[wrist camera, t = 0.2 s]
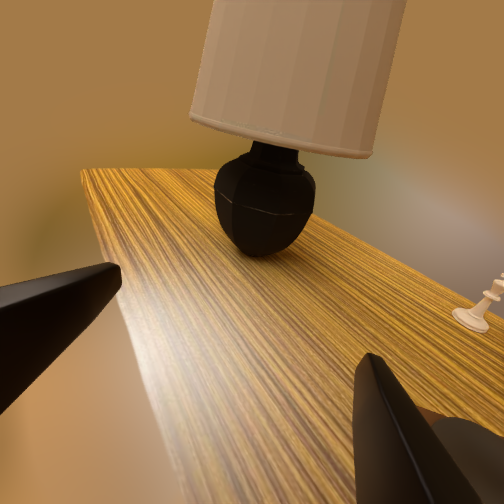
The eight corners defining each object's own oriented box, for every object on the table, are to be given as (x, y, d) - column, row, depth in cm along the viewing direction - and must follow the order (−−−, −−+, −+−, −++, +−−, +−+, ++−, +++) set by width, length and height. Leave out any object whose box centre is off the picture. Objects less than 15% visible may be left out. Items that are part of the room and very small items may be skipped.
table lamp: (342, 257, 51) (457, -2, 31) (275, 327, 31) (477, -270, 11) (244, 211, 63) (281, 2, 43) (150, 240, 43) (138, -124, 23)
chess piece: (482, 337, 37) (532, 287, 32) (447, 315, 40) (487, 267, 35) (490, 326, 40) (537, 279, 35) (456, 306, 43) (495, 260, 38)
